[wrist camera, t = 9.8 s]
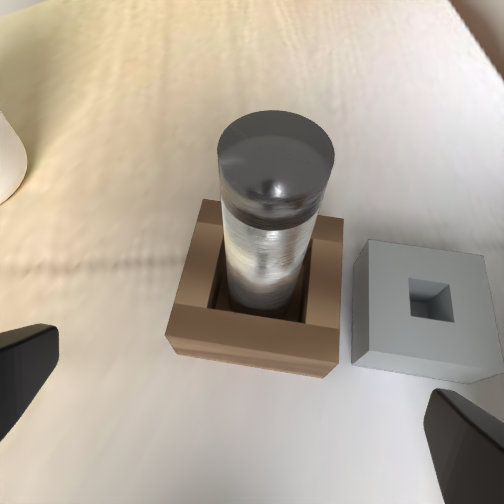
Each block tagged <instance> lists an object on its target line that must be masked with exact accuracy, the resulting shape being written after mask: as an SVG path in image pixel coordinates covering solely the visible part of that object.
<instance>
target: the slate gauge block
mask: <svg viewBox="0 0 504 504" xmlns="http://www.w3.org/2000/svg"><path fill="white" fill-rule="evenodd" d="M352 365H355V366H361V367H367V368H373V369H379V370H385V371H391V372H398V373H404V374H410V375H416V376H422V377H428V378H434V379H440V380H447V381H453V382H459V383H465V384H470V383H473V382H476V381H479V380H483V379H486V378H489V377H492V376H495V375H498V374H501V373H504V362H503V357H502V352H501V346H500V341H499V336H498V331H497V325H496V320H495V315H494V309H493V304H492V299H491V294H490V288H489V283H488V278H487V272H486V267H485V262H484V257H483V256H481V255H474V254H468V253H461V252H454V251H447V250H440V249H433V248H426V247H419V246H412V245H405V244H398V243H391V242H384V241H377V240H370V239H369V240H368V241H367V243H366V245H365V247H364V248H363V250H362V252H361V253H360V255H359V257H358V258H357V260H356V262H355V264H354V268H353V327H352Z"/></svg>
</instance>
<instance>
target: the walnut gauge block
mask: <svg viewBox="0 0 504 504" xmlns="http://www.w3.org/2000/svg"><path fill="white" fill-rule="evenodd" d="M343 220H344V219H342V218H334V217H327V216H320V215H317V218H316V221H315V225H314V228H313V231H312V234H311V237H310V241H309V244H308V247H307V250H306V253H305V256H304V260H303V263H302V266H301V269H300V272H299V276H298V279H297V282H296V285H295V288H294V291H293V295H292V298H291V301H290V304H289V307H288V310H287V312H286V313H285V315H284V316H283V317H282V318H281V319H280V320H279V319H273V318H266V317H260V316H254V315H247V314H241V313H235V312H233V310H232V308H231V306H230V302H229V291H228V278H227V266H226V253H225V241H224V228H223V216H222V203H221V201H214V200H207V199H203V201H202V205H201V208H200V212H199V215H198V219H197V222H196V226H195V230H194V233H193V237H192V240H191V244H190V247H189V251H188V254H187V258H186V261H185V265H184V269H183V272H182V276H181V279H180V283H179V286H178V290H177V293H176V297H175V300H174V304H173V307H172V311H171V315H170V318H169V322H168V325H167V329H166V332H165V336H166V338H167V339H168V341H169V343H170V344H171V346H172V347H173V349H174V350H175V352H176V354H179V355H185V356H191V357H197V358H203V359H209V360H215V361H221V362H227V363H233V364H239V365H245V366H251V367H257V368H263V369H269V370H275V371H281V372H287V373H293V374H299V375H306V376H312V377H318V378H324V377H325V376H326V375H327V374H328V373H329V372H330V371H331V370H332V369H333V368H334V367H335V366H336V365H337V364H338V362H339V334H340V306H341V277H342V249H343Z"/></svg>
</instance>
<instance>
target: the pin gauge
mask: <svg viewBox="0 0 504 504" xmlns="http://www.w3.org/2000/svg"><path fill="white" fill-rule="evenodd" d="M217 153H218V166H219V178H220V191H221V203H222V216H223V228H224V241H225V253H226V266H227V278H228V291H229V302H230V306H231V308H232V310H233V312H235V313H241V314H247V315H254V316H260V317H266V318H273V319H279V320H280V319H281V318H282V317H283V316H284V315H285V313H286V312H287V310H288V307H289V304H290V301H291V298H292V295H293V291H294V288H295V285H296V282H297V279H298V276H299V272H300V269H301V266H302V263H303V260H304V256H305V253H306V250H307V247H308V244H309V241H310V237H311V234H312V231H313V228H314V225H315V221H316V218H317V215H318V212H319V209H320V205H321V202H322V199H323V196H324V193H325V190H326V186H327V183H328V180H329V177H330V174H331V170H332V167H333V164H334V156H335V153H334V148H333V145H332V142H331V140H330V138H329V137H328V135H327V134H326V132H325V131H324V130H323V129H322V128H321V127H320V126H318V125H317V124H316V123H314V122H313V121H311V120H309V119H307V118H305V117H303V116H301V115H298V114H295V113H291V112H286V111H277V110H269V111H260V112H255V113H251V114H248V115H245V116H243V117H241V118H239V119H237V120H236V121H234V122H233V123H232V124H230V125H229V126H228V127H227V128H226V129H225V131H224V132H223V134H222V135H221V137H220V139H219V143H218V149H217Z"/></svg>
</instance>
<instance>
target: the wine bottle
mask: <svg viewBox="0 0 504 504" xmlns="http://www.w3.org/2000/svg"><path fill="white" fill-rule="evenodd" d="M26 170H27V155H26V150H25V148H24V145H23V143H22V141H21V140H20V138H19V137H18V135H17V134H16V132H15V131H14V130H13V128H12V127H11V125H10V124H9V122H8V121H7V120H6V118H5V117H4V115H3V114H2V112H1V111H0V204H1V203H2V202H4V201H5V200H7V199H8V198H9V197H10V196H11V195H12V194H13V193H14V192H15V190H16V189H17V188H18V187H19V185H20V184H21V182H22V180H23V178H24V176H25V173H26Z"/></svg>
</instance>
